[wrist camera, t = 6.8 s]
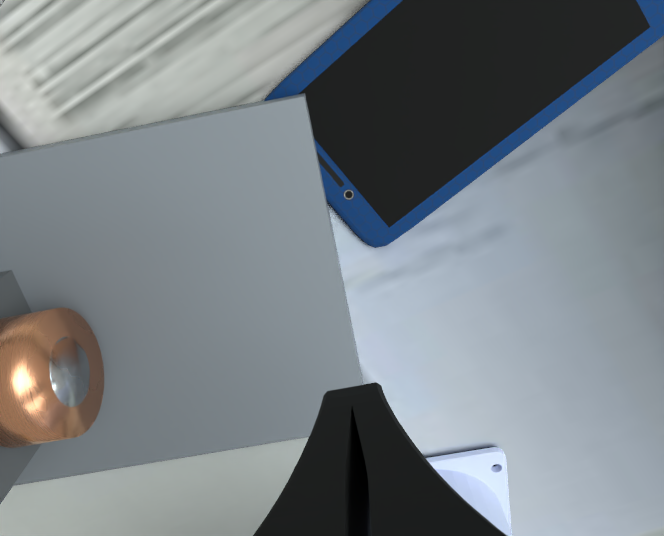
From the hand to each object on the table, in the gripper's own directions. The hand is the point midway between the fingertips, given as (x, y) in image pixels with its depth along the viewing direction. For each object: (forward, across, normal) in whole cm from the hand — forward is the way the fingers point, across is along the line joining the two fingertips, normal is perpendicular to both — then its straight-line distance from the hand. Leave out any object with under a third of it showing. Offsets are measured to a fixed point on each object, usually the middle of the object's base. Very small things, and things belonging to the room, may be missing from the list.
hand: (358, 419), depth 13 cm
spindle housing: (+9, +12, 0) cm, 15 cm away
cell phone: (+10, -6, -7) cm, 13 cm away
